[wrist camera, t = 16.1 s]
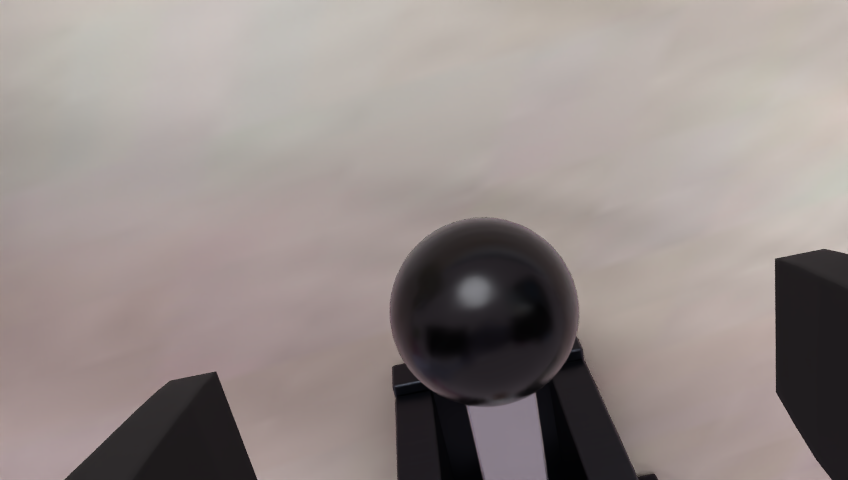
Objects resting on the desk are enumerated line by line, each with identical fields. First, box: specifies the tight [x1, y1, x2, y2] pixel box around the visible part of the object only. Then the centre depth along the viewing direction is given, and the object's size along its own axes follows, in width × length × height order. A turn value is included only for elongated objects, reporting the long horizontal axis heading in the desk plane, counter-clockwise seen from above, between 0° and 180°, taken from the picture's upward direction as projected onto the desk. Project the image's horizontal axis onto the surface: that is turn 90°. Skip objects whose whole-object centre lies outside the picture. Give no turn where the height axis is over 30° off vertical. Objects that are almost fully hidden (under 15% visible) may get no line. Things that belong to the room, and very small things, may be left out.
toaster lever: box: [390, 217, 579, 480], centre depth 13 cm, size 11×3×3 cm, turn 12°
